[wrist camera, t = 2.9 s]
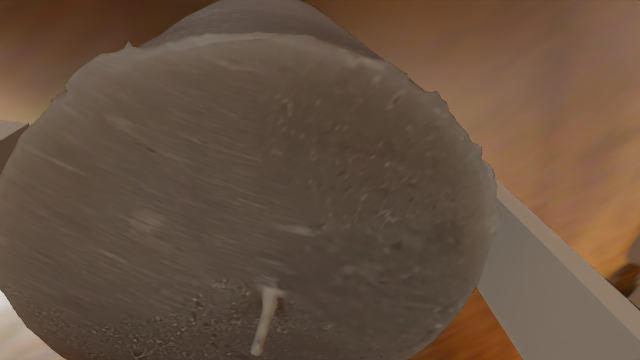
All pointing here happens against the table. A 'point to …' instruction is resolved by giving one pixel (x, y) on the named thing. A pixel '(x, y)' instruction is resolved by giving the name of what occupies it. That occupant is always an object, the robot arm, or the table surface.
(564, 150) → the table surface
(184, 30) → the pillar candle
